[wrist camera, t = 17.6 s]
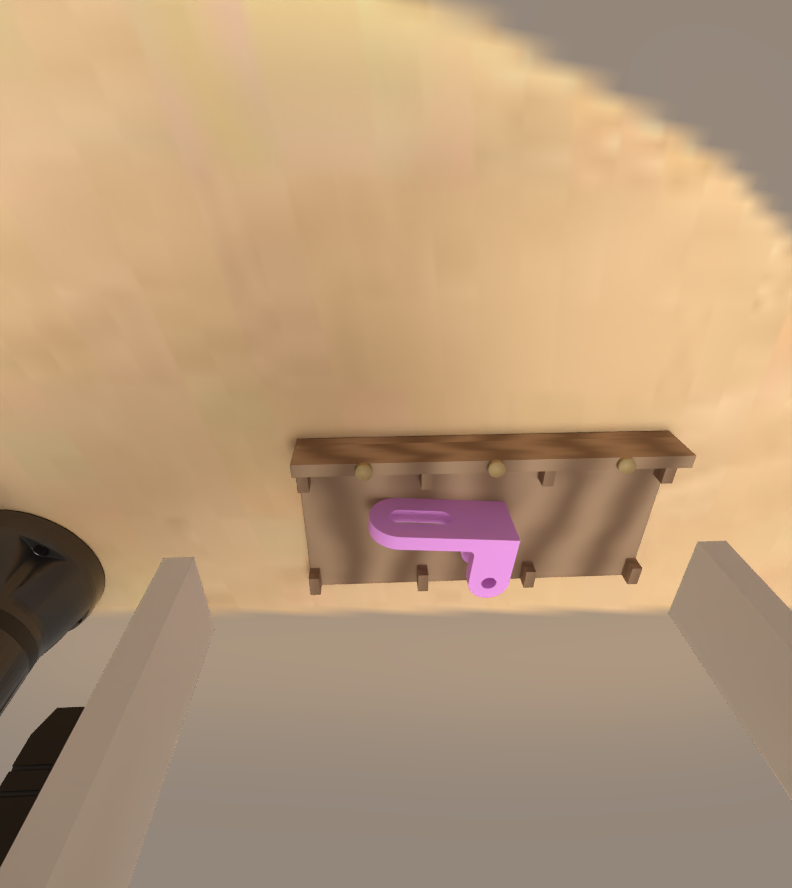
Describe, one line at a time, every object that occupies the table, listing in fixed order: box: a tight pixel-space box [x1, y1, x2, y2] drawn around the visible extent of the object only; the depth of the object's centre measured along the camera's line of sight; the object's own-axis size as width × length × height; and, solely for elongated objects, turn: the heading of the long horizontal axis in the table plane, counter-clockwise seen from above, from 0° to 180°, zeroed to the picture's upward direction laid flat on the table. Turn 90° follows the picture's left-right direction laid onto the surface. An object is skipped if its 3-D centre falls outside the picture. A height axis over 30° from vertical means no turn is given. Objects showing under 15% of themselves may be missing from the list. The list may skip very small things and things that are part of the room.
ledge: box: [290, 431, 696, 595], centre depth 46 cm, size 34×17×5 cm, turn 90°
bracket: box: [368, 498, 520, 598], centre depth 45 cm, size 13×6×7 cm
